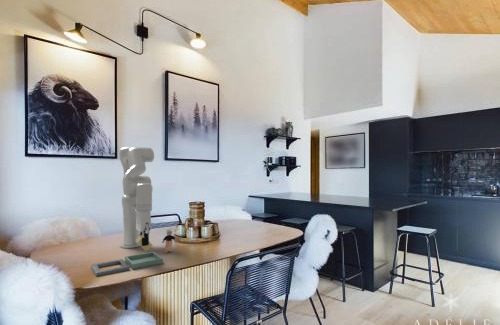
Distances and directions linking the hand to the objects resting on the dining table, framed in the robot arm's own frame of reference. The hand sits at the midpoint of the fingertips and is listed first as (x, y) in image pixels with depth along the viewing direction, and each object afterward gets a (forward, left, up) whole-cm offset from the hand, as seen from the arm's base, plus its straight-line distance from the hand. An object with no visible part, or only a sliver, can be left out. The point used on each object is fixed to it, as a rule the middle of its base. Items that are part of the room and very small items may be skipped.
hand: (143, 244), depth 149 cm
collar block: (0, -15, -9) cm, 18 cm away
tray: (0, 0, -9) cm, 9 cm away
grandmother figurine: (-11, +18, -9) cm, 23 cm away
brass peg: (0, +2, -2) cm, 3 cm away
